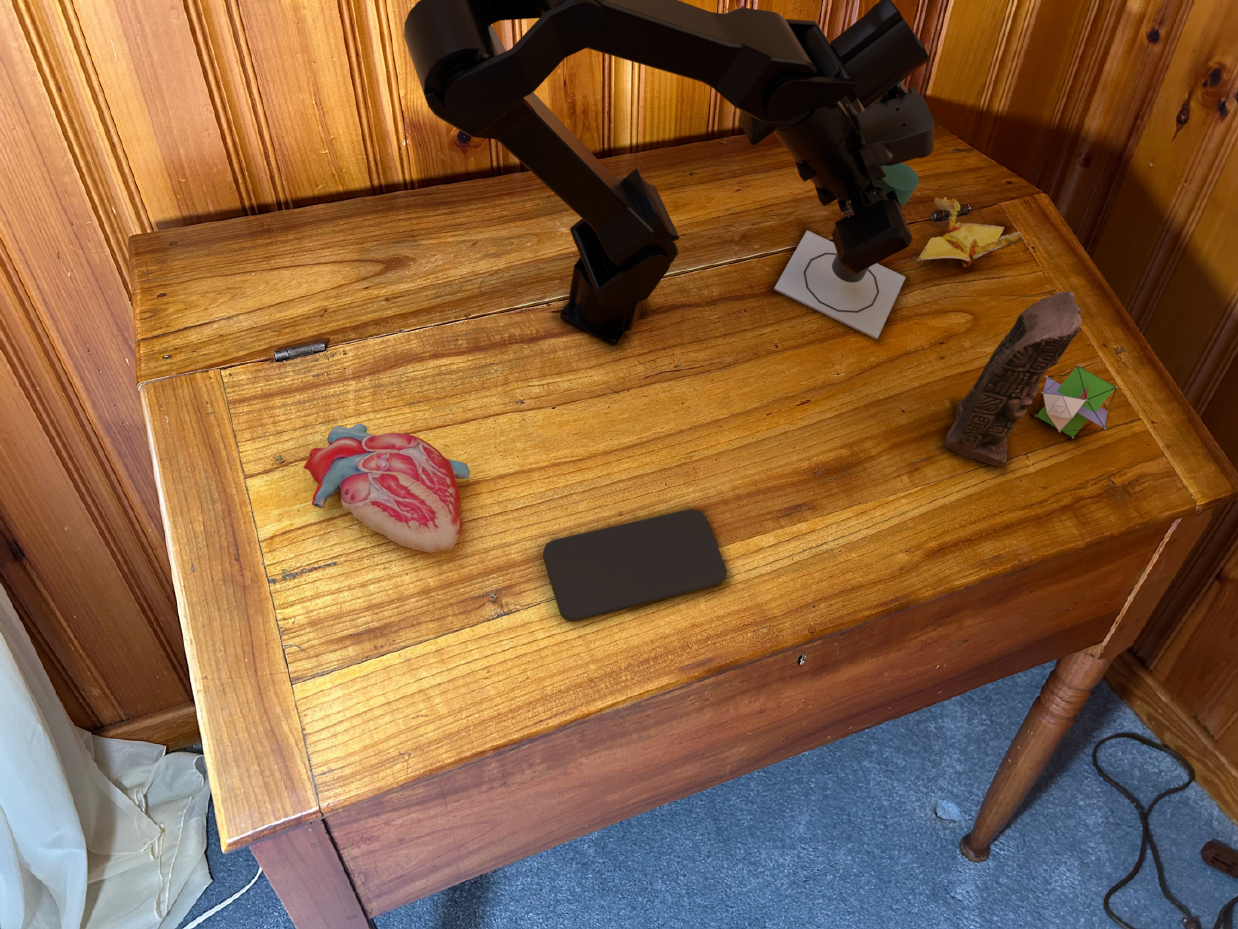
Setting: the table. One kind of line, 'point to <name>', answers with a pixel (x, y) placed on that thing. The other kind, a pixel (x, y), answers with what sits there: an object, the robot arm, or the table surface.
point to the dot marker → (896, 179)
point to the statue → (1013, 378)
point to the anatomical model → (392, 485)
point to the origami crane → (964, 238)
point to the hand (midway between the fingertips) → (884, 224)
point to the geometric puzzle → (1075, 401)
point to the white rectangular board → (839, 287)
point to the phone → (633, 564)
